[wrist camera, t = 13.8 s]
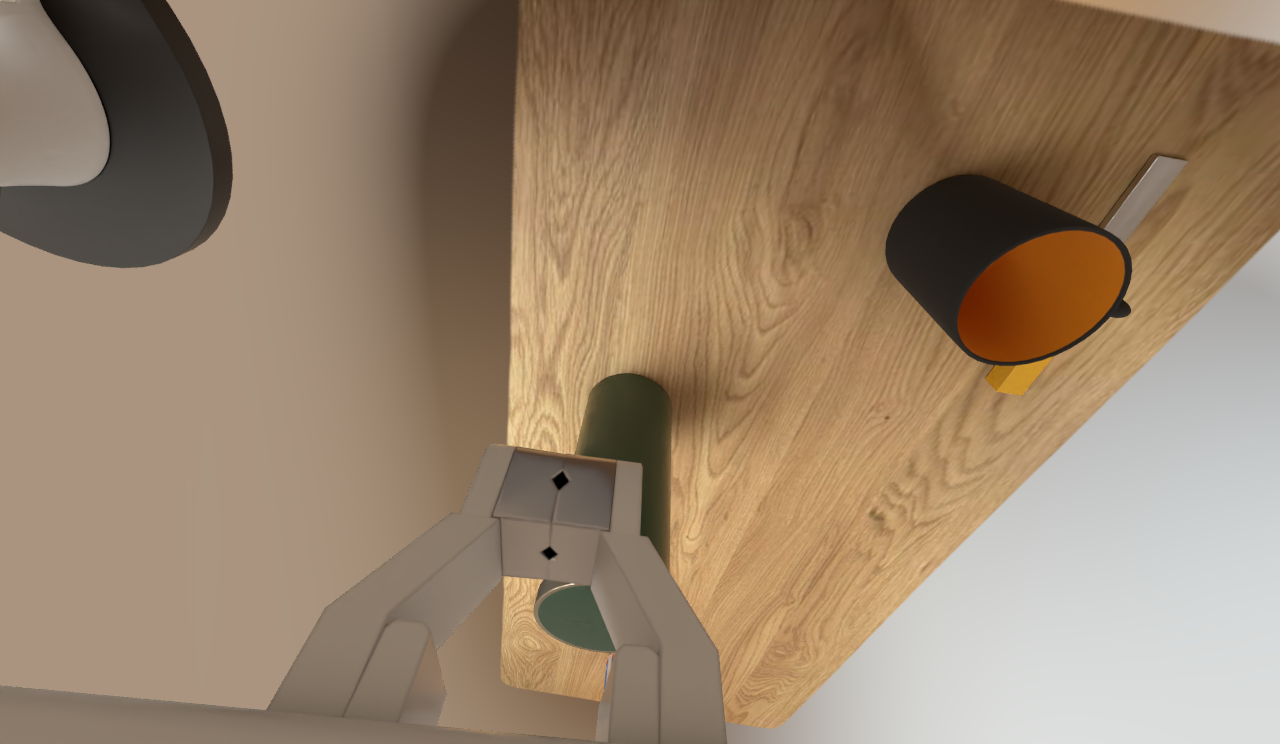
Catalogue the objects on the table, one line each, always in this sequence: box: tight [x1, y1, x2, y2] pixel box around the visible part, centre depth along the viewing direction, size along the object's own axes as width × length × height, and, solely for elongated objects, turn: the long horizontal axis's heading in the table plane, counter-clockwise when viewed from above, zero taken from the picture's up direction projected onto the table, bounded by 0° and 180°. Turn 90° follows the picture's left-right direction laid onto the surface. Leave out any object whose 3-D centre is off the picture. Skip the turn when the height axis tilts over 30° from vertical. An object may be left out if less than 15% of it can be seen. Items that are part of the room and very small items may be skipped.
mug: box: [886, 175, 1132, 366], centre depth 29 cm, size 8×12×10 cm
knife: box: [985, 154, 1188, 395], centre depth 34 cm, size 18×2×2 cm, turn 171°
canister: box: [534, 374, 672, 653], centre depth 36 cm, size 8×8×20 cm
